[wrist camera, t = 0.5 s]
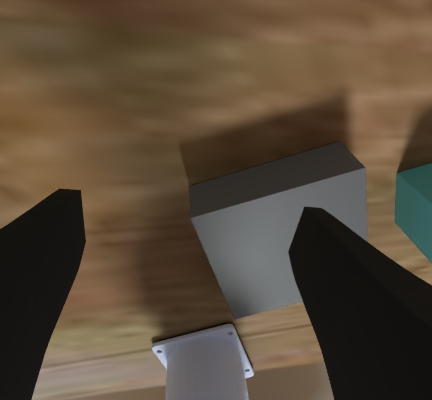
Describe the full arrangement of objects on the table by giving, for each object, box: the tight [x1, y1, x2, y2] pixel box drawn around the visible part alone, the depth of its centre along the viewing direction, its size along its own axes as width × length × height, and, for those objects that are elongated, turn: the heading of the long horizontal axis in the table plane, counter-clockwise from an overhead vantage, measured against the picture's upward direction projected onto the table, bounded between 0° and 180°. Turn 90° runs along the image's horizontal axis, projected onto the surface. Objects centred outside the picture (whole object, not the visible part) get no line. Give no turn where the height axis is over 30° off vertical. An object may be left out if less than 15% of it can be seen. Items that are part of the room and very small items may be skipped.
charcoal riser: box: [189, 141, 367, 319], centre depth 22 cm, size 10×10×4 cm
